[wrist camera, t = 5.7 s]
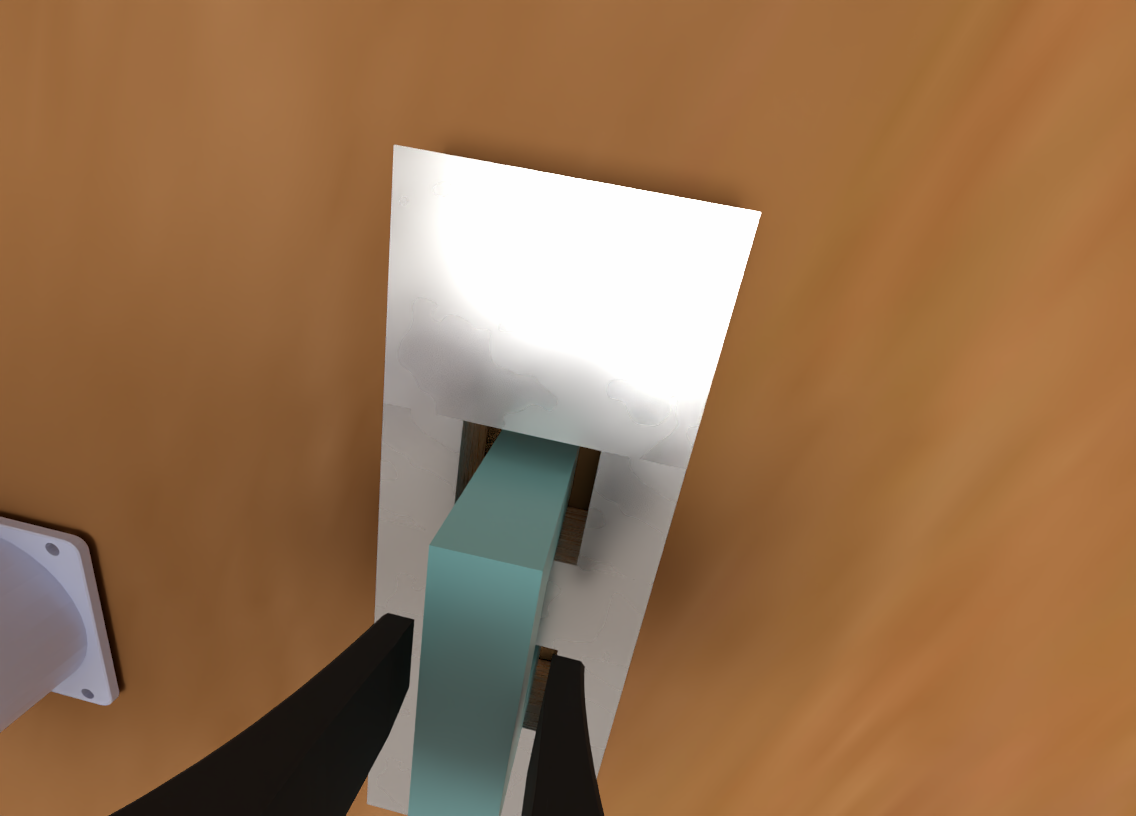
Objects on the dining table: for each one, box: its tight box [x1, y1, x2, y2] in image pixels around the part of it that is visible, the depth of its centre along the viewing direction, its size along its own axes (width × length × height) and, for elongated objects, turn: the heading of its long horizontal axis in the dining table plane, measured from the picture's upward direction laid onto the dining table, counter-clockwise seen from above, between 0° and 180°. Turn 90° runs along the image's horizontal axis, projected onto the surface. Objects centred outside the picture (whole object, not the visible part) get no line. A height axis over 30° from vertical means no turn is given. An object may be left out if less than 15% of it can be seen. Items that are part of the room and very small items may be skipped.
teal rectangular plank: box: [408, 429, 580, 816], centre depth 13 cm, size 2×8×6 cm, turn 171°
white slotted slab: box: [367, 145, 761, 816], centre depth 15 cm, size 7×20×2 cm, turn 170°
